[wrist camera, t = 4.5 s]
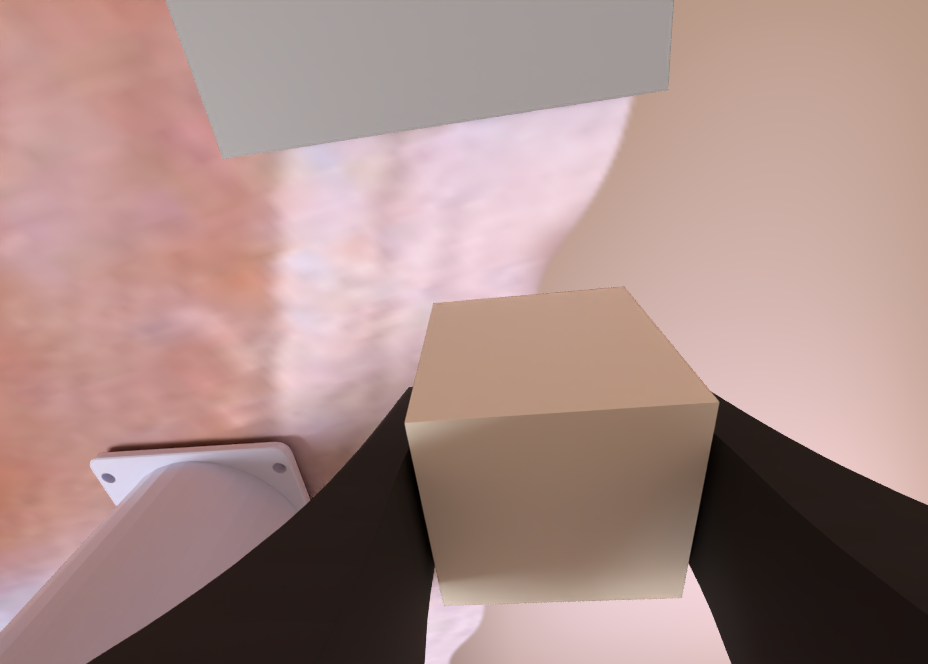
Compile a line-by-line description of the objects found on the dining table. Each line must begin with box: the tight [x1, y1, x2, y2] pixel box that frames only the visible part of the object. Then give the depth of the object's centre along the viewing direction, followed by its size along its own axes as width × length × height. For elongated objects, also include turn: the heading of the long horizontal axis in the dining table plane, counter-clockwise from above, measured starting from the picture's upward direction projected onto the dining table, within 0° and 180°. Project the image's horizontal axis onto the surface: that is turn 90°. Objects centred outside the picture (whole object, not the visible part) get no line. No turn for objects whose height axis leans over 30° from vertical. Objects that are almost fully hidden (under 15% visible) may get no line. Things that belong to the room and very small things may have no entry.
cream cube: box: [405, 287, 719, 606], centre depth 9 cm, size 4×4×4 cm
